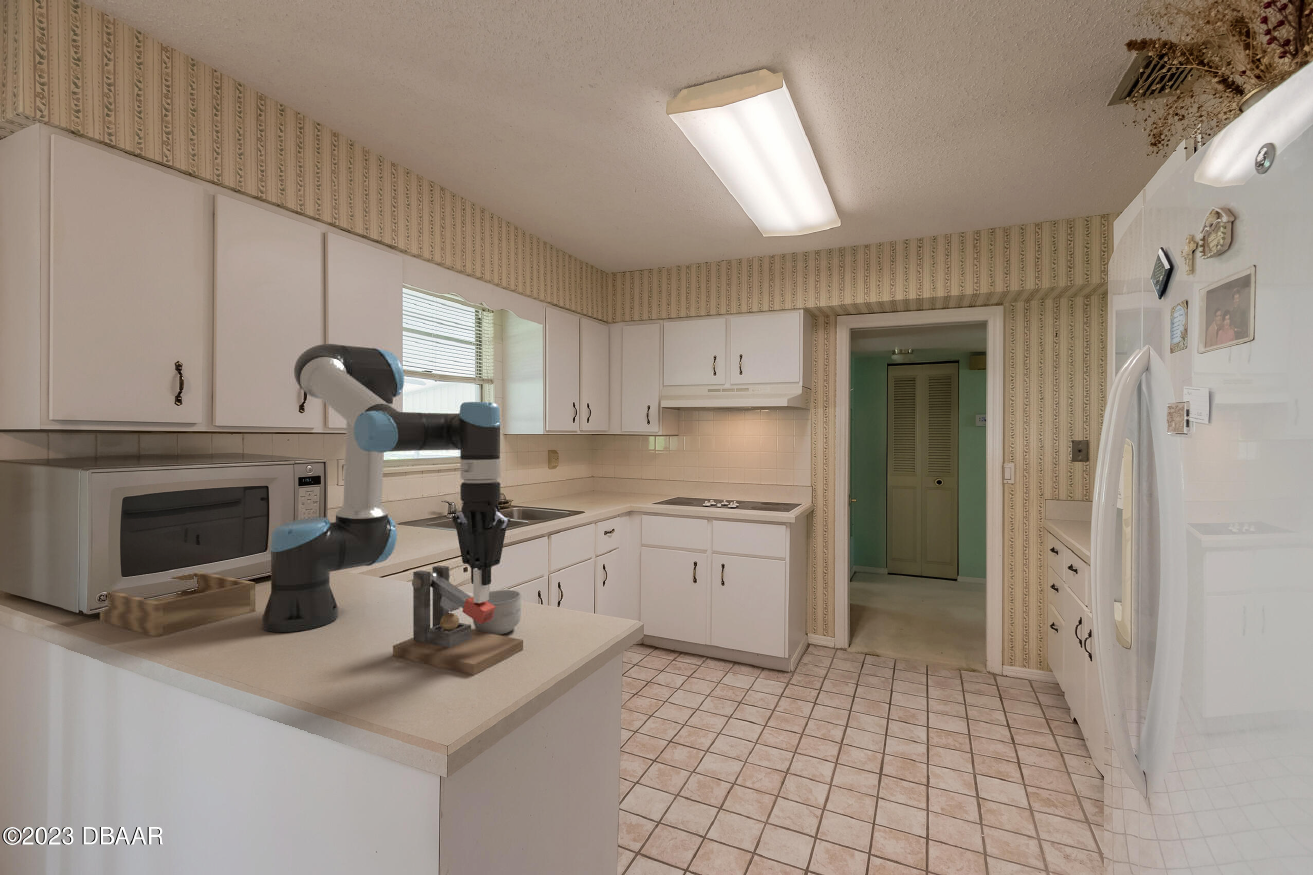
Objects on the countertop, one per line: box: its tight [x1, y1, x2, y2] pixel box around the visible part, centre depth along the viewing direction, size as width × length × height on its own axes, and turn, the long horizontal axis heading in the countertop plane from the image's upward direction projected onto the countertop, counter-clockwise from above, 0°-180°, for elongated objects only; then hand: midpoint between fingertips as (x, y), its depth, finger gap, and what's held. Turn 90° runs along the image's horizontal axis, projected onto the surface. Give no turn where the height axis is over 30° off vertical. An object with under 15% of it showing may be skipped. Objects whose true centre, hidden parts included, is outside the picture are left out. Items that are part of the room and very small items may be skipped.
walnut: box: [440, 612, 460, 631], centre depth 120 cm, size 4×4×4 cm
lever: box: [430, 571, 496, 624], centre depth 119 cm, size 17×3×5 cm, turn 65°
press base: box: [392, 564, 524, 676], centre depth 119 cm, size 21×14×16 cm, turn 64°
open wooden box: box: [99, 571, 256, 638], centre depth 142 cm, size 24×20×7 cm
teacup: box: [472, 587, 522, 636], centre depth 134 cm, size 14×11×8 cm
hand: (481, 600), depth 116 cm, fingers closed
